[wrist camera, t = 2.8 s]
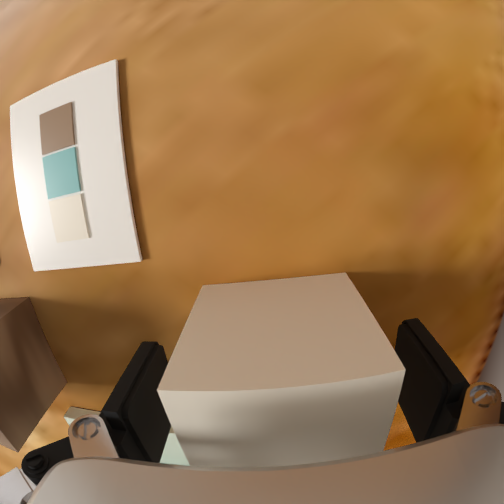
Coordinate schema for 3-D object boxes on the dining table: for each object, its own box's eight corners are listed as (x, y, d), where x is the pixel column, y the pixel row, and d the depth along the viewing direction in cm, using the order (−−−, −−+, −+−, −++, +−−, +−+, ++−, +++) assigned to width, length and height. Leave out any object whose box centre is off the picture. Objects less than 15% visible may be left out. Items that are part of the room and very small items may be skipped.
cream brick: (203, 284, 12) (156, 390, 6) (345, 271, 11) (405, 369, 6) (224, 389, 13) (206, 497, 8) (341, 379, 13) (369, 485, 7)
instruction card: (12, 106, 10) (8, 105, 9) (117, 60, 9) (114, 58, 9) (36, 269, 12) (32, 272, 12) (142, 259, 11) (139, 262, 11)
